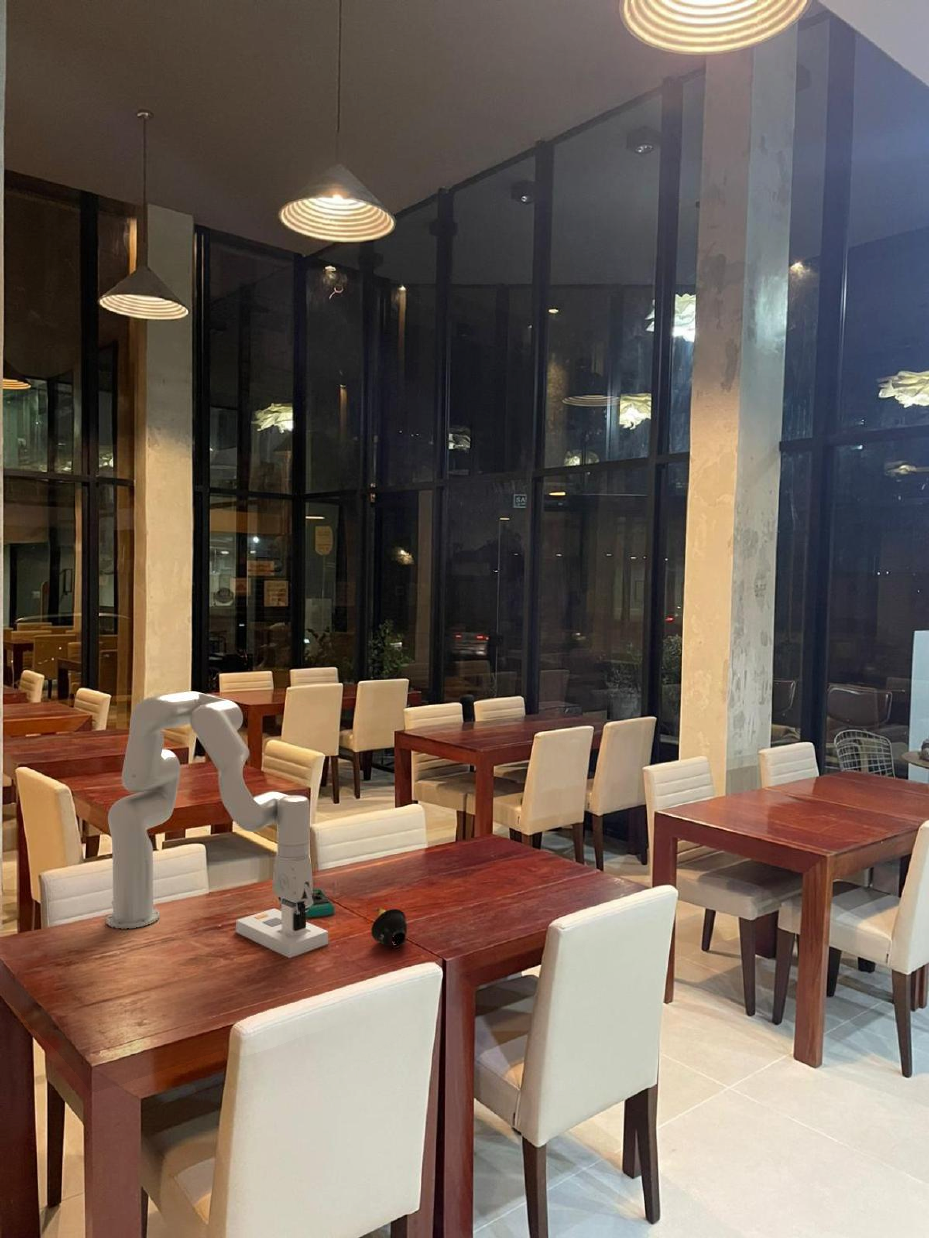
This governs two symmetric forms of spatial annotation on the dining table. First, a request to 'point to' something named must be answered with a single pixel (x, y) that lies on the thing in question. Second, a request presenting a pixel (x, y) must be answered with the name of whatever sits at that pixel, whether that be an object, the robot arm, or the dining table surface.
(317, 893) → the digital multimeter
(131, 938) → the dining table surface
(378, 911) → the fried shrimp in bowl
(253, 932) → the power strip
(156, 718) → the robot arm
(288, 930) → the plug
